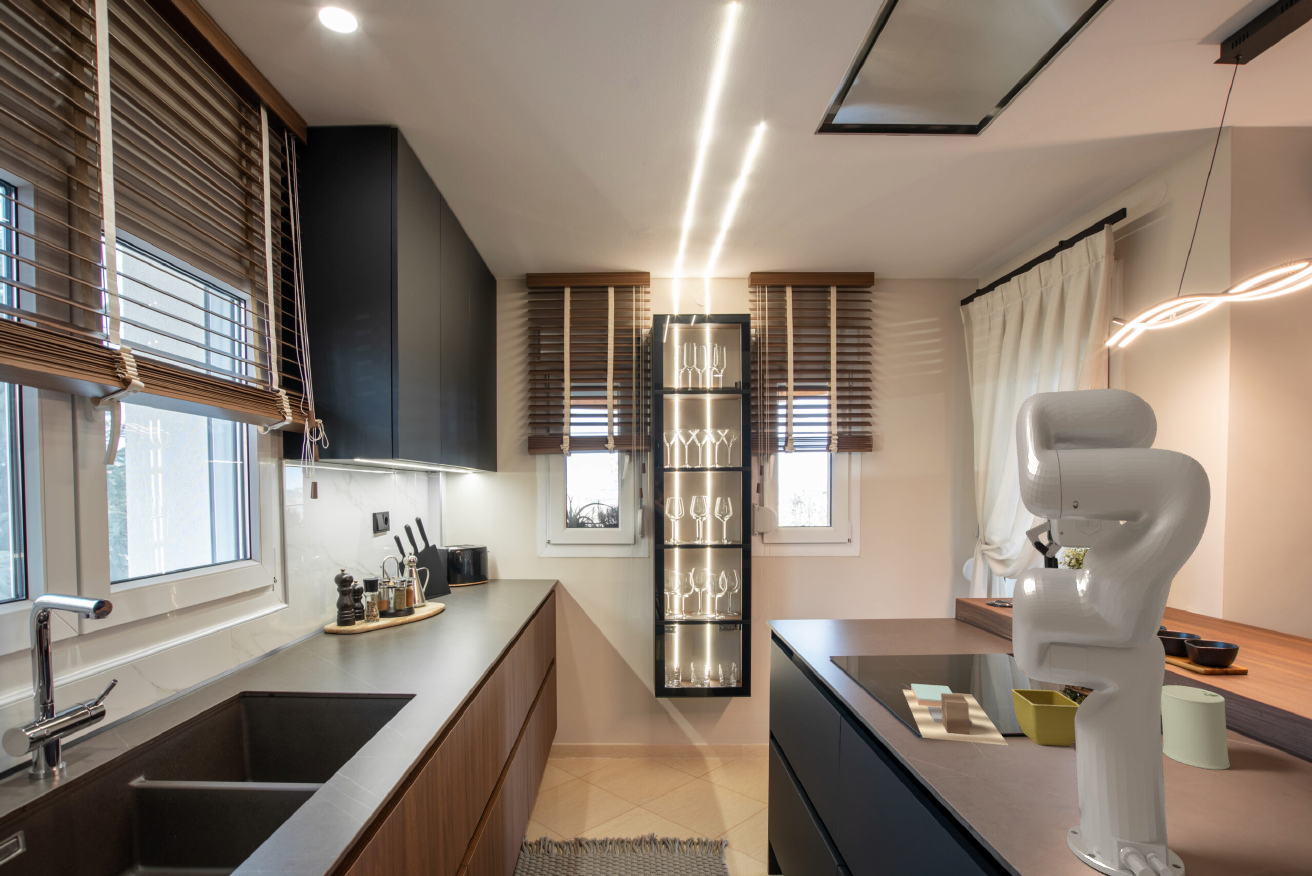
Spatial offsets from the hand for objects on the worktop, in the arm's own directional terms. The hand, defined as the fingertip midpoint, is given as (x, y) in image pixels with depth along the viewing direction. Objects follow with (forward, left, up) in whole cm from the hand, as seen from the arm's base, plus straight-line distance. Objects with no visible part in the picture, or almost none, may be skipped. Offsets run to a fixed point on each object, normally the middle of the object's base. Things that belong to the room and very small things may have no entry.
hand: (1084, 580), depth 107 cm
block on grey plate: (+17, +19, -32) cm, 41 cm away
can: (+13, -21, -34) cm, 42 cm away
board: (+22, +18, -33) cm, 44 cm away
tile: (+26, +20, -31) cm, 45 cm away
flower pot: (+13, +3, -34) cm, 36 cm away
